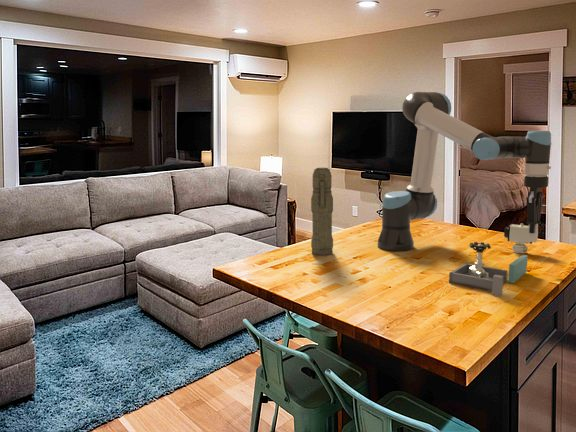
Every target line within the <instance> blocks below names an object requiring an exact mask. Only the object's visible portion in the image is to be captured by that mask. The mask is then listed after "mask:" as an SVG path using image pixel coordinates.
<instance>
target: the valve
mask: <svg viewBox="0 0 576 432" xmlns="http://www.w3.org/2000/svg"><path fill="white" fill-rule="evenodd" d="M491 247H492V246H491V244H490V243H485V242H483V241H482V242H478V241H474V242H470V243H469V248H470V249H472V250H474V251H476V253H477V254H475V255H476V257H475V259H476V261H474V262H473V266H471V267H470V268H469V274H471V275H472V276H475V277H480V278H485V279H488V273H487V272H485V271H484V269H483V268H482V267H483V266H485V265H484V262H483V254H482V253H483V252H484V251H485V250H487V249H489V250H490V249H491Z"/></svg>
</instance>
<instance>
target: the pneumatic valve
mask: <svg viewBox="0 0 576 432" xmlns="http://www.w3.org/2000/svg"><path fill="white" fill-rule="evenodd" d="M528 227H529V225H525V224H524V223H520V224H513V223H511V224H509V225H508V226H506V227H504V234H503V236H504V238H505V239H506V240H507V242H513V243H514V244H513V245H512V251H513V253H515V254H520V255H521V254H522V255H524V254H525V253H528V249H529V248H528V246H527V245H526V244H529V245H532V244H533V243H534V242H528ZM538 237H539V232H538V233H537V239H538Z"/></svg>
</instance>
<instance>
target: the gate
mask: <svg viewBox="0 0 576 432" xmlns="http://www.w3.org/2000/svg"><path fill="white" fill-rule="evenodd" d="M528 256H529V255H525V254H522V255H520V256H519V257H518V258H516V259H515V260H514V261H512V262H510V264H508V266H509V267H508V276H507V283H510V284H514V283H515V282H516V281H518V280H519V279H520V278H522V277H523V276H524V275H525V274H526V273H527V270H528V269H527V268H528V259H529V258H528Z"/></svg>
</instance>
